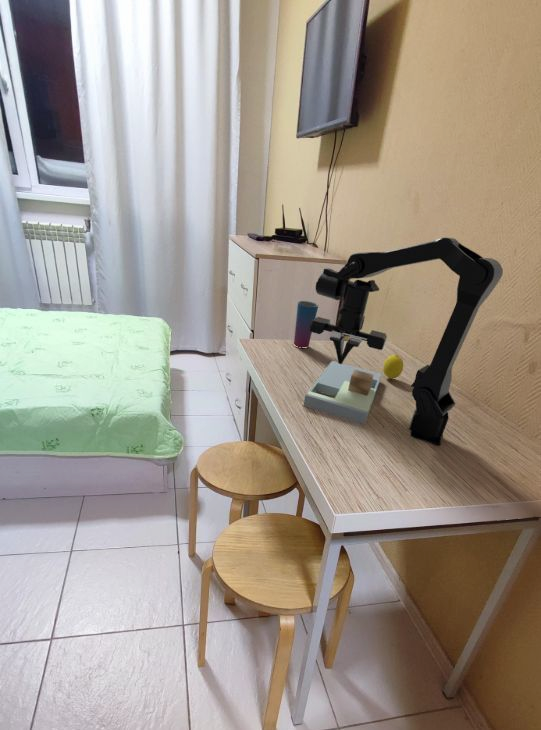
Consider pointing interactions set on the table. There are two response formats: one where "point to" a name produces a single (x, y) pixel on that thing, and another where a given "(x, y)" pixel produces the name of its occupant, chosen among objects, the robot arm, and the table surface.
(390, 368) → the lemon
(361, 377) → the block
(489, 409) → the table surface
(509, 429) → the table surface
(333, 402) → the board
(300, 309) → the cup
